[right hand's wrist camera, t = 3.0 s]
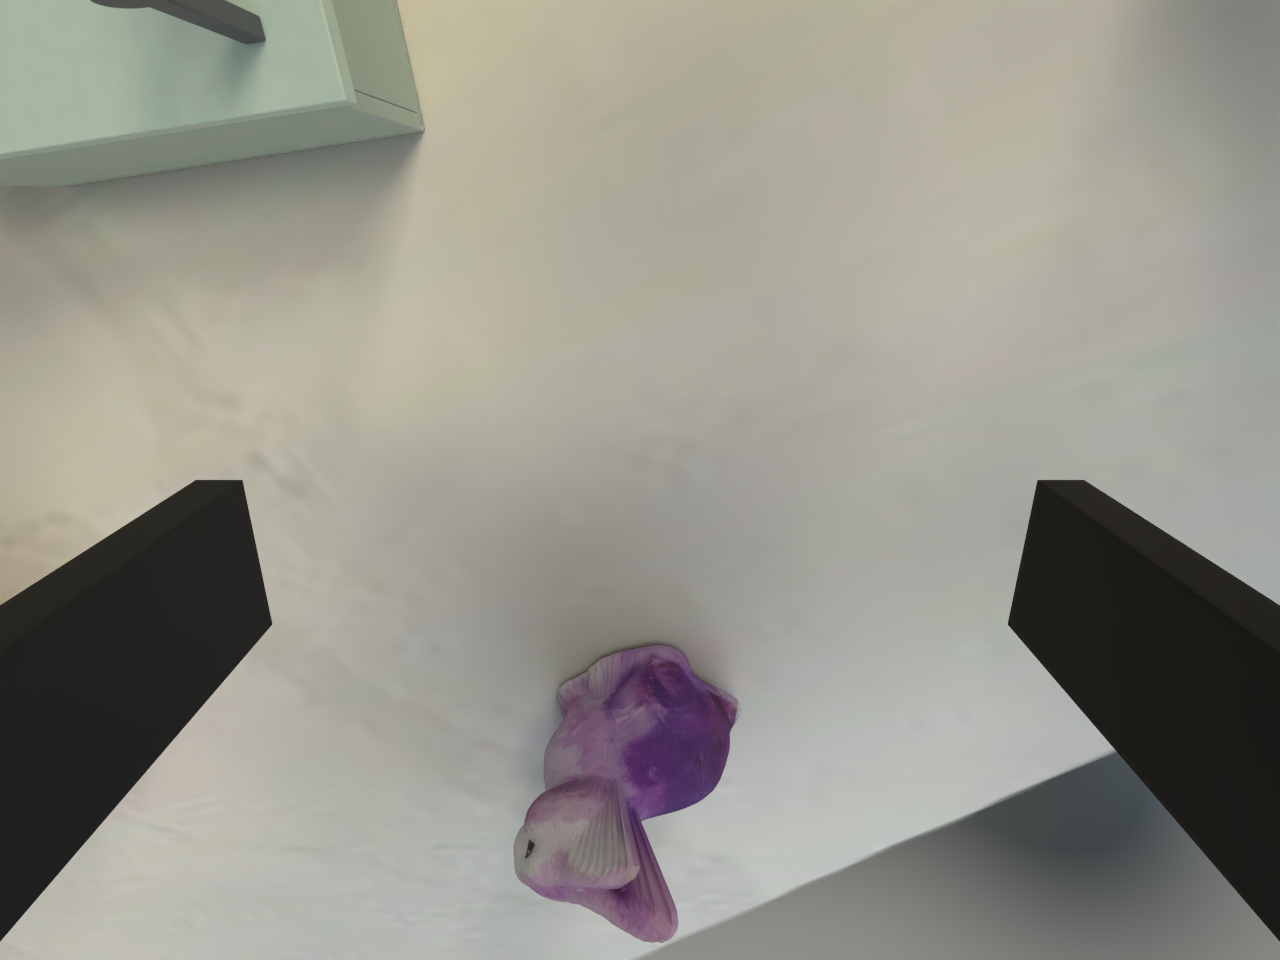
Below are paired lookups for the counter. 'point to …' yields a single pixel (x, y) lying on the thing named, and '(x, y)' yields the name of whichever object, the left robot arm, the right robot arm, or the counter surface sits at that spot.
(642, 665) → the figurine
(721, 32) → the counter surface
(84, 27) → the lid
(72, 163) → the chest
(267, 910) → the counter surface
